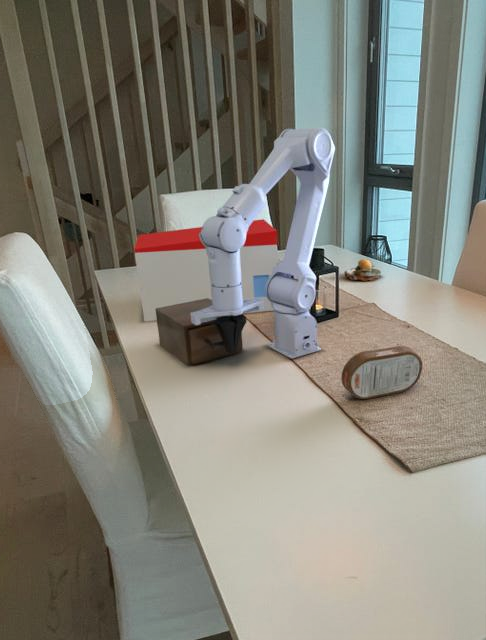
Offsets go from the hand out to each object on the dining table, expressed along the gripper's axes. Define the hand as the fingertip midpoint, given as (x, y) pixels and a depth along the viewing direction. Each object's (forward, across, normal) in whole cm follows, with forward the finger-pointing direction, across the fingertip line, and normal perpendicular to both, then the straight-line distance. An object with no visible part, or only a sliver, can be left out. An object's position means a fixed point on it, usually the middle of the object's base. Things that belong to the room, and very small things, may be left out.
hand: (231, 351), depth 100 cm
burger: (+4, +70, +38) cm, 80 cm away
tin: (+4, +16, -26) cm, 30 cm away
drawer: (+3, 0, +10) cm, 11 cm away
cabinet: (+4, 0, +14) cm, 15 cm away
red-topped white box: (+4, +17, +42) cm, 46 cm away
